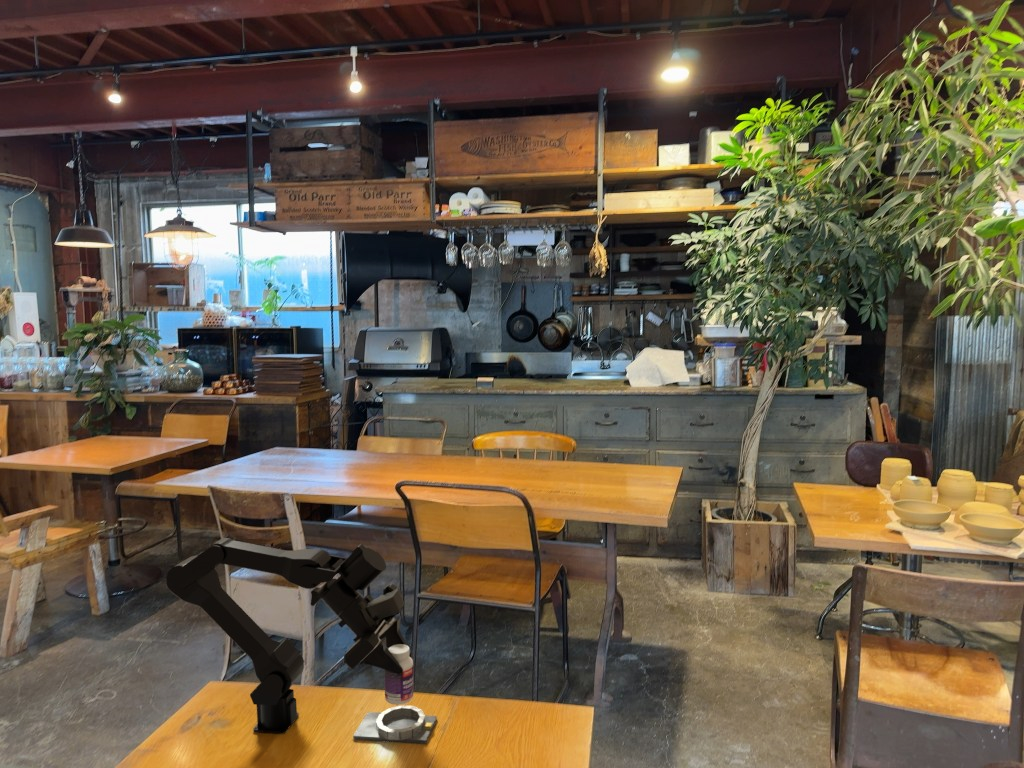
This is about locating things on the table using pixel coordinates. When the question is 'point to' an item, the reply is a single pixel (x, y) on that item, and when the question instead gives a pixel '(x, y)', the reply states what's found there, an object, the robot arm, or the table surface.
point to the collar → (406, 732)
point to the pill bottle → (400, 677)
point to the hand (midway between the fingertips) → (405, 664)
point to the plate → (370, 733)
